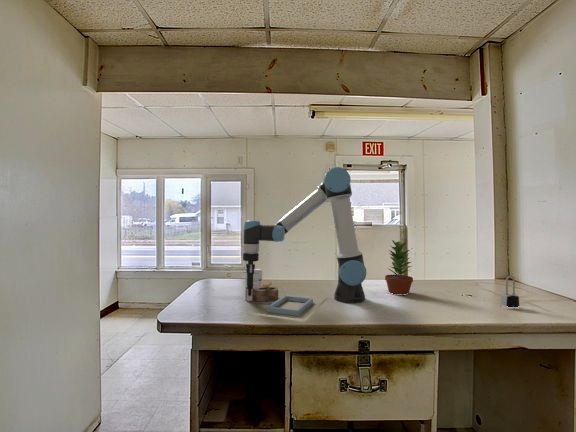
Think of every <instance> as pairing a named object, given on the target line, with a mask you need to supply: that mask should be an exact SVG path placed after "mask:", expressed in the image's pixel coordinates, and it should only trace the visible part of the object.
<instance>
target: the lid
mask: <svg viewBox="0 0 576 432" xmlns="http://www.w3.org/2000/svg"><path fill="white" fill-rule="evenodd" d="M272 285H273V284H272V282H269V281H267V282H265V283H262V287H265V290H269V287H272ZM280 298H281V297H278V300H279V299H280ZM253 302H256V303H259V304H272V303H274V302H275V301H256V300H253Z"/></svg>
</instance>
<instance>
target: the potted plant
mask: <svg viewBox="0 0 576 432" xmlns="http://www.w3.org/2000/svg"><path fill="white" fill-rule="evenodd" d="M391 242H392V243H393V244H394V246H391V248H392V250H393V251H392V250H390V249H388V251H389V252H390V253H389V252H388V254H389V255H390V256H389V257H390V259H391V260H392V261H391V265H392V266H391V265H390V266H389V267H390V268H391V269H390V268H388V270H389V271H390V272H392V273H393V274H386V275H385V276H384V280H385V282H386V286H387V289H388V293H389V292H390V293H393V294H392V295H394V294H407V293H410V291H411V287H412V284H413V282H414V277H412V276H409V275H404V273H405V272H409V269H408V268H412V267H413V265H412V266H411V265H409V264H411V263H412V261H408V260H410V257H407V256H409V254H410V252H409V251H410V249H407V250H406V249H403V248H404V247H405V245H406V244H407V242H401V241H400V240H398V241H394V240H393V239H391ZM407 261H408V262H407ZM407 265H408V266H407ZM392 269H393V270H392ZM390 293H389V294H390Z"/></svg>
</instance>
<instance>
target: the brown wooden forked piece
mask: <svg viewBox="0 0 576 432" xmlns="http://www.w3.org/2000/svg"><path fill="white" fill-rule="evenodd" d="M245 289H246V288H245ZM278 298H279V288H278V286H269V290H265V287H263V286H262V287H256V288H253V294H252V301H254V300H256V301H277V300H278ZM246 300H247V289H246V290H245V299H244V301H246Z"/></svg>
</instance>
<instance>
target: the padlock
mask: <svg viewBox="0 0 576 432" xmlns="http://www.w3.org/2000/svg"><path fill="white" fill-rule="evenodd" d="M505 278H506V279H505V293H502V294H501V296H500V305H501V304H502V305H504V306H508V307H518V306H520V296H519V295H516V293H515V292H516V291H515V289H516V283H515V282H516V281H515V277H514V276H513V275H509V276H507V277H505ZM509 278H510V279H512V293H508V288H509V287H508V286H509V285H508V282H509Z"/></svg>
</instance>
